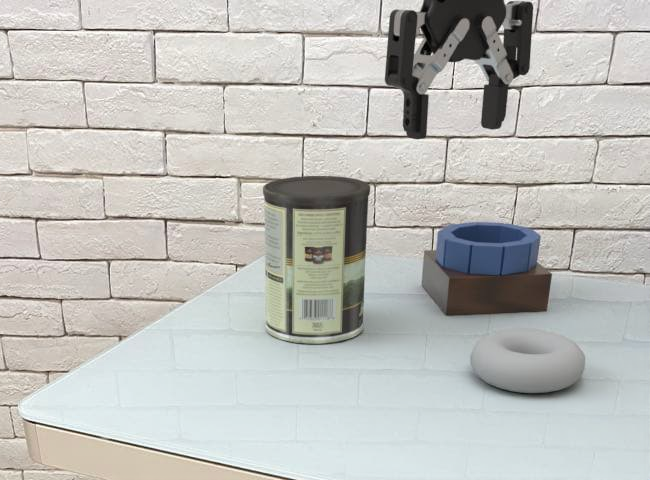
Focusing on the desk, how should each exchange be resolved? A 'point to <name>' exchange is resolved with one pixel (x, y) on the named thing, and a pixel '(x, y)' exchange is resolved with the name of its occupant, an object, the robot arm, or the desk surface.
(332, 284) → the coffee can
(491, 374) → the donut
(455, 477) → the desk surface
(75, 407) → the desk surface
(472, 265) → the ring
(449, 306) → the platform
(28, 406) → the desk surface
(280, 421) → the desk surface
